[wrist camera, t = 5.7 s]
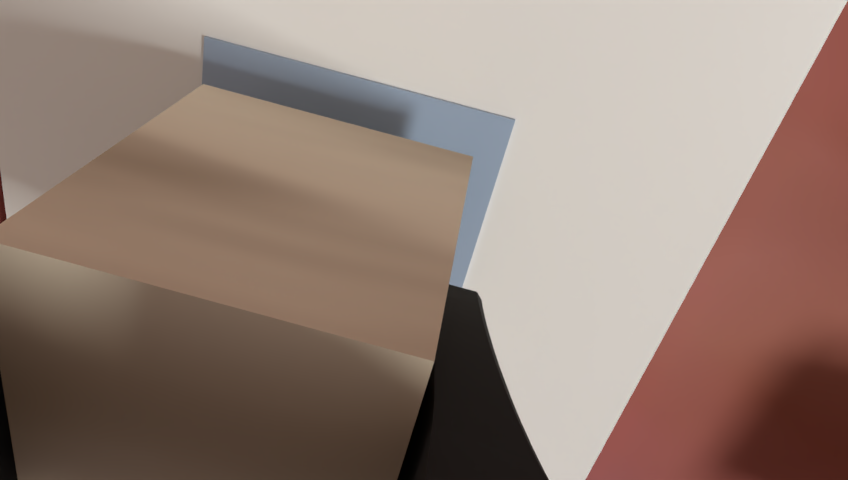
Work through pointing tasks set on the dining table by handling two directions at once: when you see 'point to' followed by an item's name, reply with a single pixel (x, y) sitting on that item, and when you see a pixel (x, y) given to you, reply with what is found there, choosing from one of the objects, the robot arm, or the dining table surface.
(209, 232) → the maple block
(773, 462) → the dining table surface
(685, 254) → the white flat slab
